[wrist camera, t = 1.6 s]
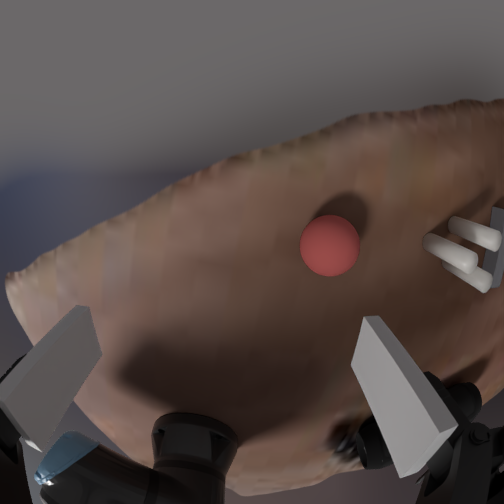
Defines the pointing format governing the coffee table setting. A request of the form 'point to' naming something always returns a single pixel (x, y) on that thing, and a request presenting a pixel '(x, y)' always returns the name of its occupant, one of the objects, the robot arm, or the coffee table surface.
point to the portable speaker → (374, 444)
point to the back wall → (500, 258)
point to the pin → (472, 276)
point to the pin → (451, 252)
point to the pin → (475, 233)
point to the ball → (329, 245)
